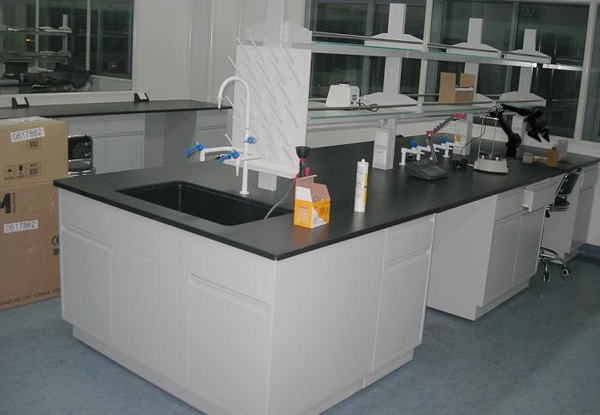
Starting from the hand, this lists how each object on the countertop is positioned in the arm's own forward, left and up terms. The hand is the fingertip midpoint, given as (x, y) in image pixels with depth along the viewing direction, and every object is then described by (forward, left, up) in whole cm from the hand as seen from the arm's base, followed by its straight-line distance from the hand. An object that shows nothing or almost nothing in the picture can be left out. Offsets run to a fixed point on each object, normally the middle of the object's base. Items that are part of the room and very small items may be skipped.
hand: (545, 142), depth 458 cm
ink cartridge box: (+10, +26, -15) cm, 31 cm away
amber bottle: (+6, -5, -14) cm, 16 cm away
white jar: (-9, -4, -14) cm, 17 cm away
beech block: (-1, +9, -15) cm, 17 cm away
